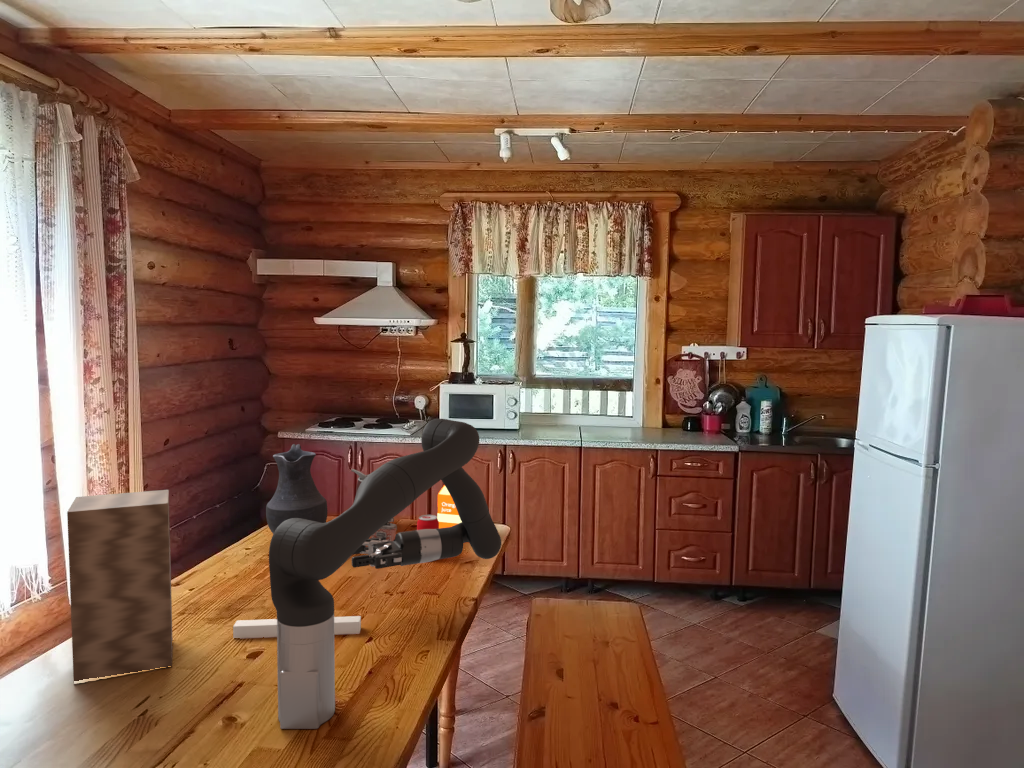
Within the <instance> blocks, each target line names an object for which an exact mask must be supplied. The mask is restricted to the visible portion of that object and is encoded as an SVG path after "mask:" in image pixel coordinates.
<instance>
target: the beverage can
mask: <svg viewBox="0 0 1024 768" xmlns="http://www.w3.org/2000/svg"><path fill="white" fill-rule="evenodd" d="M438 528H439V521H438V519H437V515H435V514H422V515H420V516H419V517H418V520H417V521H416V530H422V529H438Z"/></svg>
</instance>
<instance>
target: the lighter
mask: <svg viewBox="0 0 1024 768" xmlns="http://www.w3.org/2000/svg"><path fill="white" fill-rule="evenodd" d="M394 522H395V517H393V518H392V519H391V520H389V521H388V522H387V523H386V524H385V525H383V526H382V527H381V528H380V529H379V530H378V531H377V532H375V533H374V534H373V535H372V536H371V537H370V538H377V537H386V540H388V541H394V539H395V536H396V534H397V530H396V526H397V524H395V523H394ZM390 523H392V524H390ZM376 545H377V544H376Z"/></svg>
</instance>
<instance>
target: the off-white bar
mask: <svg viewBox="0 0 1024 768" xmlns="http://www.w3.org/2000/svg"><path fill="white" fill-rule="evenodd" d="M232 629H233V630H232V634H233V635H232V636H233V637H232V638H240V639H260V638H263V637H264V638H277V618H272V619H271V618H270V619H267V618H266V619H265V618H264V619H243V620H241V619H239V620H238V619H237V620H236V621H235V623H234V624H233V626H232ZM361 629H362V616H361V615H351V616H346V615H345V616H334V636H335V635H336V636H337V635H356V634H357V635H359V634H360V633H361Z"/></svg>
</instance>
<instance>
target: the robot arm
mask: <svg viewBox="0 0 1024 768" xmlns="http://www.w3.org/2000/svg"><path fill="white" fill-rule="evenodd" d="M420 441H421V442H420V443H421V447H422V451H419V452H416V453H411V454H407V455H404V456H398V457H396V458H393V459H391V460H389V461H386V462H385V463H383V464H382V465H381V466H379V467H377V468H376V469H375V470H373V471H372V472H370V473H369V474H367V475H368V476H367V477H366V478H365V479H364V480H363V481H362V482H361V484H360V486H359V488H358V490H357V493H356V492H355V497H354V501H353V503H352V505H351V506H350V507H349V508H348V509H346V510H345V511H343V512H342V513H341V514H339V515H338V516H336V517H335V518H333V519H331V520H329V521H326V523H320V522H316V521H311V520H306V519H301V518H291V519H288V520H286V521H284V522H282V523H281V524H280V525H279V526H278V527H277V529H276V530H275V532H274V534H273V533H272V536H271V540H270V543H269V549H268V568H269V582H270V583H269V584H270V585H269V586H270V596H271V601H272V604H273V606H274V608H275V610H276V611H275V612H276V619H277V637H276V639H277V640H276V643H277V645H276V647H277V649H276V651H277V653H276V654H277V655H276V656H277V657H276V659H277V666H276V667H277V718H278V722H279V725H280V726H279V727H280V729H281V730H282V729H284V730H285V729H286V730H287V729H292V730H295V729H297V730H299V729H300V730H301V729H302V730H303V729H305V730H306V729H307V730H308V729H310V730H313V729H314V730H317V729H319V728H320V726H321V725H322V724H324V723H326V722H328V721H329V720H330V719H332V717H333V716H334V714H335V711H336V688H335V686H336V685H335V683H336V682H335V681H336V679H335V678H336V676H335V674H336V673H335V671H336V669H335V667H336V665H335V657H336V656H335V635H334V617H335V600H334V597H333V595H332V593H331V592H330V591H329V590H327V588H326V587H324V586H323V584H322V583H321V582H320V581H321V580H325V579H327V578H328V577H330V576H331V575H333V574H334V573H335V572H336V571H338V570H339V569H340V568H341V567H342V566H343V565H344V564H345V563H346V562H347V561H348V560H349V559H350V558H351V566H352V567H353V568H354V569H355V568H361V567H367V566H370V567H374V568H375V569H377V570H379V569H384V568H390V567H396V566H401V567H405V566H411V565H417V564H424V563H429V562H430V563H431V562H433V561H437V560H443V559H451V558H455V557H458V556H460V555H461V554H462V552H463V550H464V544H465V543H469V545H470V547H471V548H472V550H473V552H474V553H475V555H476V556H477V557H479V558H480V559H483V560H490V559H492V558H495V557H496V556H497V555H498V554H499V552H500V551H501V548H502V538H501V536H500V535H501V534H500V533H499V530H498V528H497V527H496V524H495V523H494V521H493V518H492V516H491V513H490V509H489V506H488V503H487V501H486V498H485V495H484V493H483V492H484V491H482V489H481V487H480V486H479V485H478V483H477V482H476V481H475V480H474V478H472V476H470V475H469V474H468V472H467V471H466V470H465V469H464V468H463V467H464V466H466V465H467V464H468V463H469V462H470V461H471V460H472V459H473V458H474V456H475V455H476V453H477V451H478V448H479V446H480V445H479V444H480V434H479V432H478V430H477V429H476V428H475V426H473V425H472V424H469V423H467V422H464V421H459V420H453V419H446V418H434V419H431V420H429V421H428V422H427V423H426V424H425V426H424V427H423V430H422V432H421V440H420ZM439 482H442V483H443V486H444V485H445V487H446V488H447V490H448V492H449V493H450V495H451V497H452V499H453V502H454V504H455V507H456V509H457V512H458V514H459V517H460V519H461V521H462V522H461V523H459V524H456V525H454V526H452V527H446V528H438V529H422V530H417V529H415V530H408V531H399V532H396V536H395V539H394V541H388V540H386V537H377V538H371V536H372V535H373V534H374V533H375V532H377V531H378V530H379V529H380V528H381V527H382V526H383V525H385V524H386V523H387V522H388V521H389V520H391V519H392V518H395V517H396V516H398V515H399V514H400V513H402V512H403V511H404V510H405V509H406V508H407V507H409V506H410V505H411V504H413V503H414V502H415V501H416V500H417V499H418V498H420V497H421V496H422V495H423V494H424V493H425V492H427V491H428V490H430V488H432V487H433V486H435V485H436V484H438V483H439ZM376 544H377V545H376ZM359 554H363V555H359ZM353 555H355V556H353ZM356 555H357V556H356Z"/></svg>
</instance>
